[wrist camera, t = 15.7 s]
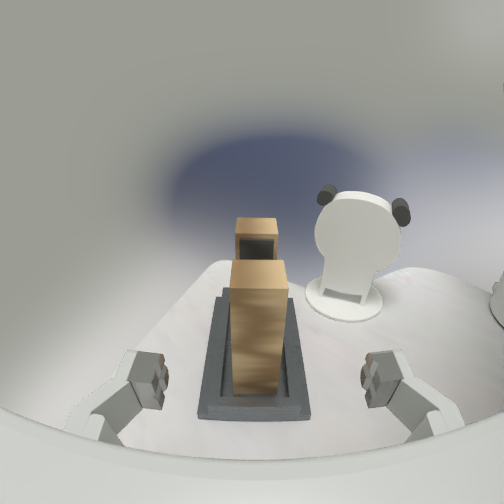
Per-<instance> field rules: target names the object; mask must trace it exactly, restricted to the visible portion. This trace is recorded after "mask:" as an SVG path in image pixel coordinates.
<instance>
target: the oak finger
mask: <svg viewBox="0 0 504 504" xmlns="http://www.w3.org/2000/svg"><path fill="white" fill-rule="evenodd" d="M229 290H230V321H231V348H232V371H233V393H234V394H277V389H278V381H279V373H280V365H281V356H282V348H283V339H284V329H285V320H286V310H287V300H288V290H289V288H288V283H287V277H286V271H285V266H284V260H235V259H234V260H233V261H232V269H231V278H230V287H229Z"/></svg>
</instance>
